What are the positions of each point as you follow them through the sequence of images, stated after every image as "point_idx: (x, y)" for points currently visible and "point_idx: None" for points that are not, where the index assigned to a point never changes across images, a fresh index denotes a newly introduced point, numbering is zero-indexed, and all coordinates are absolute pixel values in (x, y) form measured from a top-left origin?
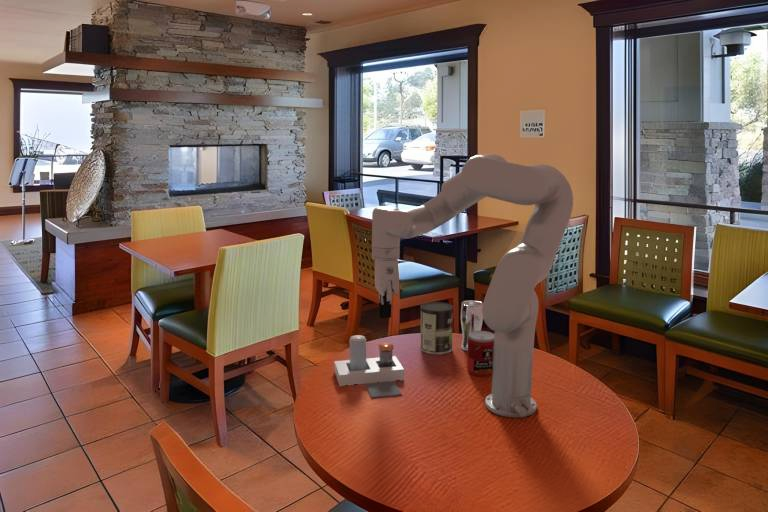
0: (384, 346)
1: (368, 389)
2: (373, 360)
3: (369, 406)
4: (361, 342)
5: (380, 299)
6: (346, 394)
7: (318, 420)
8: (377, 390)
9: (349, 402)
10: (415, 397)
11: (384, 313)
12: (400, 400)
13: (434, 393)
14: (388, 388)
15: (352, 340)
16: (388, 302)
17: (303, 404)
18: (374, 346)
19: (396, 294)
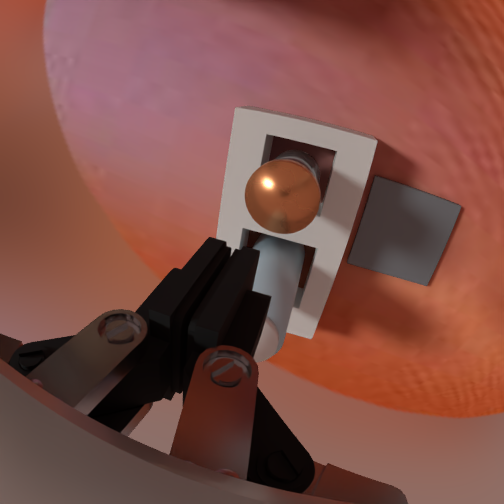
0: (289, 210)
1: (384, 273)
2: (245, 203)
3: (454, 305)
4: (284, 335)
5: (142, 413)
6: (368, 322)
7: (428, 394)
8: (404, 255)
9: (408, 332)
10: (489, 178)
11: (260, 336)
12: (479, 225)
13: (495, 112)
14: (412, 221)
15: (258, 359)
16: (272, 421)
17: (355, 396)
18: (82, 116)
19: (318, 499)
